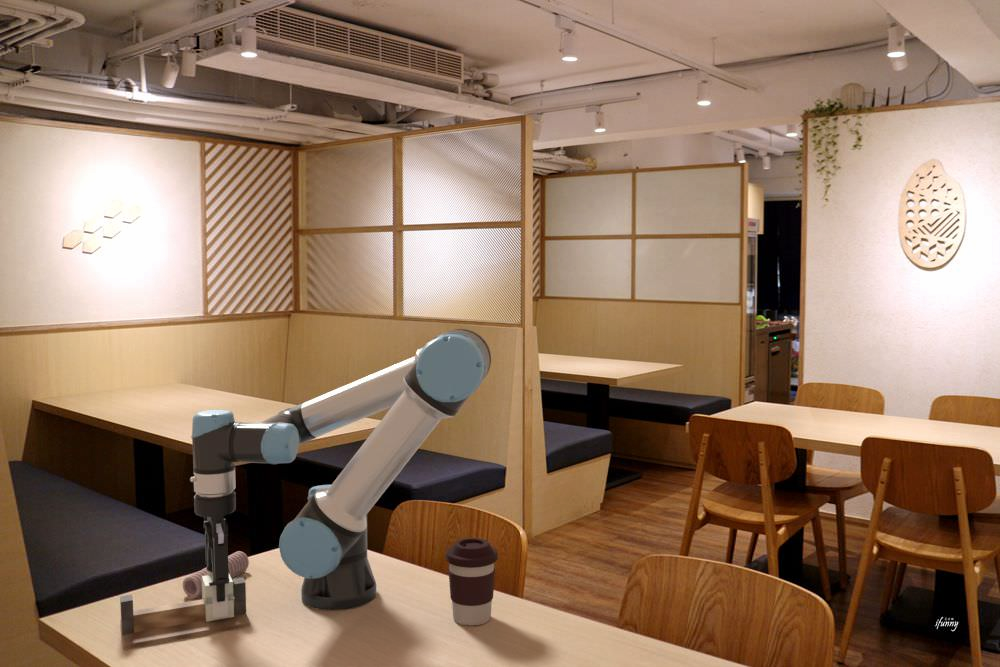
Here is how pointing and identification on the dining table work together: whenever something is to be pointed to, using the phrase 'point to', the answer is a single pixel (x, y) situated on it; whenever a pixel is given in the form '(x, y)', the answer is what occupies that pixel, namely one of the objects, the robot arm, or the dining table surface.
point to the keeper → (208, 598)
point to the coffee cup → (471, 580)
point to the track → (184, 631)
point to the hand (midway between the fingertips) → (218, 610)
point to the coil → (194, 582)
